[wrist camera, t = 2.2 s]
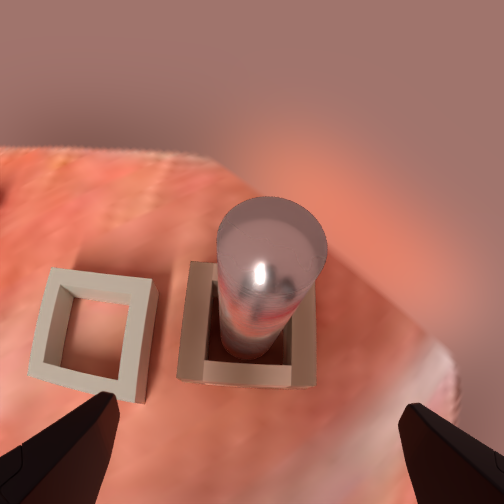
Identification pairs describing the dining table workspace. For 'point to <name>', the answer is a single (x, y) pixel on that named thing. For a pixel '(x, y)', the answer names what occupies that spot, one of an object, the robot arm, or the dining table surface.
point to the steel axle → (264, 270)
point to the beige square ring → (240, 374)
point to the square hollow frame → (135, 338)
